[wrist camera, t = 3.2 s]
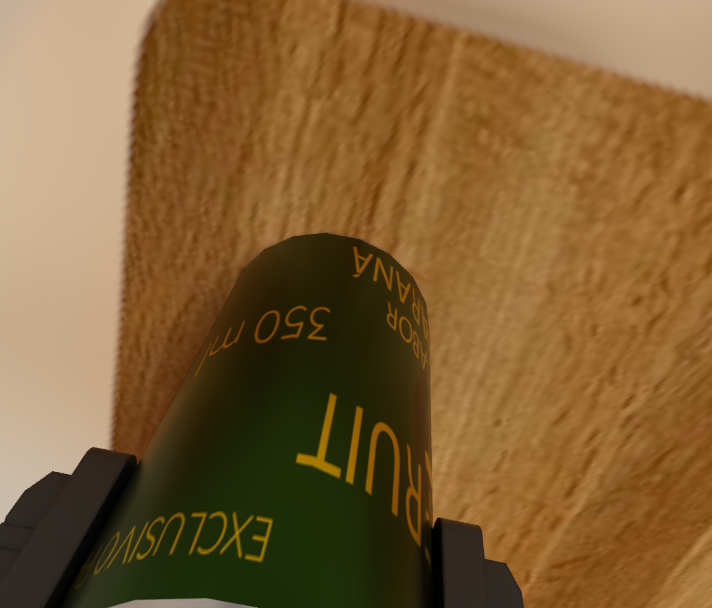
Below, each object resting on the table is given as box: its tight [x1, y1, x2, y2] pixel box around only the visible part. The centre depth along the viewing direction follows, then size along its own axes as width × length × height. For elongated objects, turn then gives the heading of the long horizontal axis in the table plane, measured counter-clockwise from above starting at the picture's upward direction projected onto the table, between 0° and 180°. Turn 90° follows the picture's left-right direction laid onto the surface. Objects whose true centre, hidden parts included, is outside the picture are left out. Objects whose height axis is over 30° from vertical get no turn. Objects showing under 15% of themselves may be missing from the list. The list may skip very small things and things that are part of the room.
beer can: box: [60, 233, 434, 608], centre depth 13 cm, size 5×5×12 cm
